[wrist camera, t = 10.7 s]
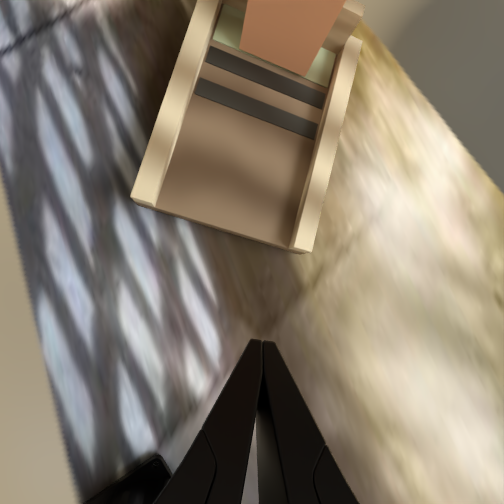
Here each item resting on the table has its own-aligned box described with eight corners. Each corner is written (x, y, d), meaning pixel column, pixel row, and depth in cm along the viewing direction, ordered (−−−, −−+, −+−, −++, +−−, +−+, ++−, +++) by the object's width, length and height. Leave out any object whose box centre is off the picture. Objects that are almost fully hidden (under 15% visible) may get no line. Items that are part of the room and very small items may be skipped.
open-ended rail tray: (299, 254, 24) (326, 249, 19) (138, 205, 21) (120, 184, 16) (347, 62, 26) (381, 14, 21) (207, -1, 24) (209, -72, 19)
